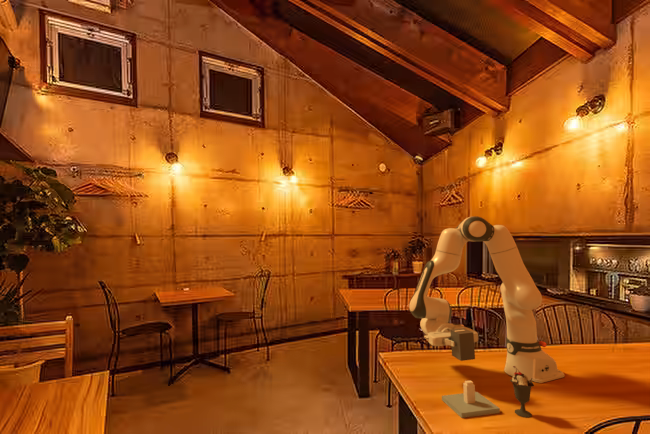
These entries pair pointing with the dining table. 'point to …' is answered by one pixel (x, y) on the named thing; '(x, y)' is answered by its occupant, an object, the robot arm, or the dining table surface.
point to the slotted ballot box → (463, 344)
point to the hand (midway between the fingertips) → (463, 343)
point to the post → (470, 402)
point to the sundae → (522, 392)
